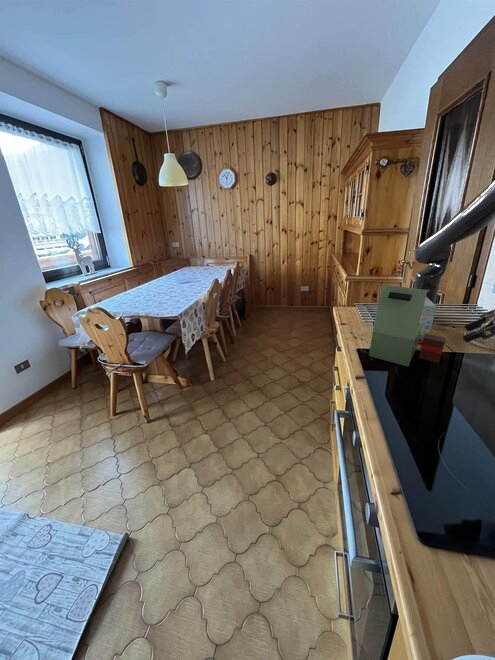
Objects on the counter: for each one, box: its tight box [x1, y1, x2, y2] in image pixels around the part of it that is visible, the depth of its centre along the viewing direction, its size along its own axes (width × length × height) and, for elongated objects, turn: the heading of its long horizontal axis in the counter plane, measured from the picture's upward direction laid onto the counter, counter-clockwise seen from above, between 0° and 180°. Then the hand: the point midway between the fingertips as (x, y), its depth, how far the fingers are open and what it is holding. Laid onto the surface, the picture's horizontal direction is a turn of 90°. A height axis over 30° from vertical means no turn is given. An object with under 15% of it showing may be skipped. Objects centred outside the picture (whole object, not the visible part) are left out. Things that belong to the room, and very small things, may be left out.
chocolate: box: [418, 333, 447, 364], centre depth 95 cm, size 4×6×8 cm, turn 52°
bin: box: [368, 323, 423, 368], centre depth 99 cm, size 15×13×10 cm
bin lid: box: [372, 284, 427, 340], centre depth 88 cm, size 16×13×5 cm
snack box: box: [418, 297, 438, 344], centre depth 112 cm, size 21×6×15 cm, turn 168°
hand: (465, 334), depth 88 cm, fingers open, 8 cm apart
